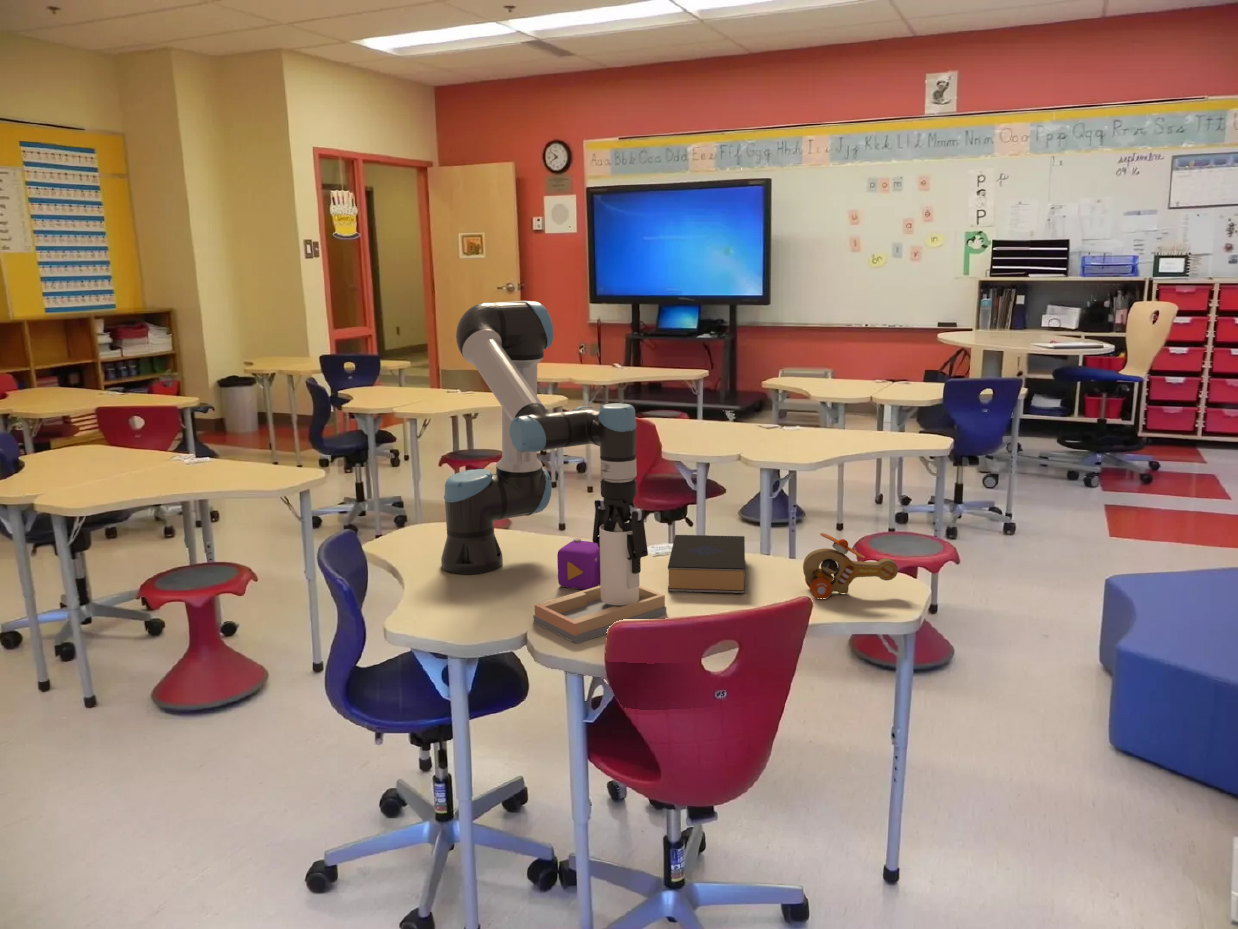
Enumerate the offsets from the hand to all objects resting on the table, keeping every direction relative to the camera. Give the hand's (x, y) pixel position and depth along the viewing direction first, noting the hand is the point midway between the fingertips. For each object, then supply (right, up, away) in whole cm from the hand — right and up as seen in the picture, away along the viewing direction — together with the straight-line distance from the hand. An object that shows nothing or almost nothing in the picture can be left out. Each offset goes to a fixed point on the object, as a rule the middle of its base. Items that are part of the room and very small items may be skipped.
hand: (619, 581), depth 200 cm
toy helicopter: (+50, -4, +10) cm, 52 cm away
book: (+21, -2, +23) cm, 32 cm away
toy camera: (-7, -3, +18) cm, 20 cm away
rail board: (-4, -7, -2) cm, 9 cm away
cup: (0, -4, +1) cm, 4 cm away
